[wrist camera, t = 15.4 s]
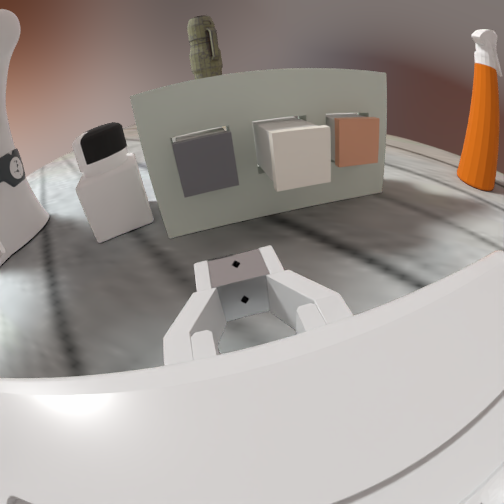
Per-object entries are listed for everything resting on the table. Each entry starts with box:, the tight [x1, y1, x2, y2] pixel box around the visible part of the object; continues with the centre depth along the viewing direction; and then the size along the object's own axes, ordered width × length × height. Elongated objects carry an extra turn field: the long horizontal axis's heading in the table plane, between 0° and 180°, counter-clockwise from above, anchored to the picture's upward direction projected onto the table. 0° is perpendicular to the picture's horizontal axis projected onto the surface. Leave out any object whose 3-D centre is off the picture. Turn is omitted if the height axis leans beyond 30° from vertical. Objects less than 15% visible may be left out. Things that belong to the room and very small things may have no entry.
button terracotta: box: [326, 113, 379, 167], centre depth 26 cm, size 5×9×5 cm, turn 14°
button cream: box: [252, 116, 331, 192], centre depth 23 cm, size 5×9×5 cm, turn 14°
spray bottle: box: [457, 29, 502, 191], centre depth 23 cm, size 7×11×26 cm, turn 109°
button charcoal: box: [172, 127, 239, 198], centre depth 24 cm, size 5×9×5 cm, turn 14°
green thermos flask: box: [187, 16, 222, 80], centre depth 63 cm, size 9×12×35 cm
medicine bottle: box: [72, 122, 154, 243], centre depth 27 cm, size 7×7×12 cm
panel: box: [130, 68, 387, 239], centre depth 26 cm, size 24×8×14 cm, turn 104°
